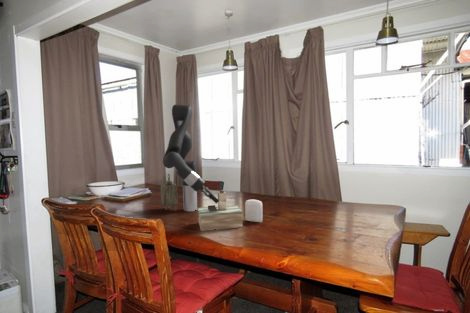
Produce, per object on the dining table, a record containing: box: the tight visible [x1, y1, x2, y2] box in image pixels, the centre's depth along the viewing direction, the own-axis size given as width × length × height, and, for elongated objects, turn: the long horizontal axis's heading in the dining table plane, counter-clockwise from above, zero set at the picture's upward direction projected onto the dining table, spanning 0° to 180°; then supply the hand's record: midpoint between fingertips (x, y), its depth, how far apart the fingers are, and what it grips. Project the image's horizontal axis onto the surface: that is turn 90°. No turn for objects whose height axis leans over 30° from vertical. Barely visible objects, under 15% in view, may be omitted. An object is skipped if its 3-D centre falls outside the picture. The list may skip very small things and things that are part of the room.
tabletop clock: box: [160, 173, 179, 212], centre depth 192 cm, size 14×9×25 cm, turn 22°
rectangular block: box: [197, 204, 244, 232], centre depth 155 cm, size 16×23×10 cm
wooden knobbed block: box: [217, 189, 228, 210], centre depth 155 cm, size 4×4×10 cm
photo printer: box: [244, 199, 264, 223], centre depth 161 cm, size 10×4×12 cm, turn 60°
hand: (217, 201), depth 155 cm, fingers closed
